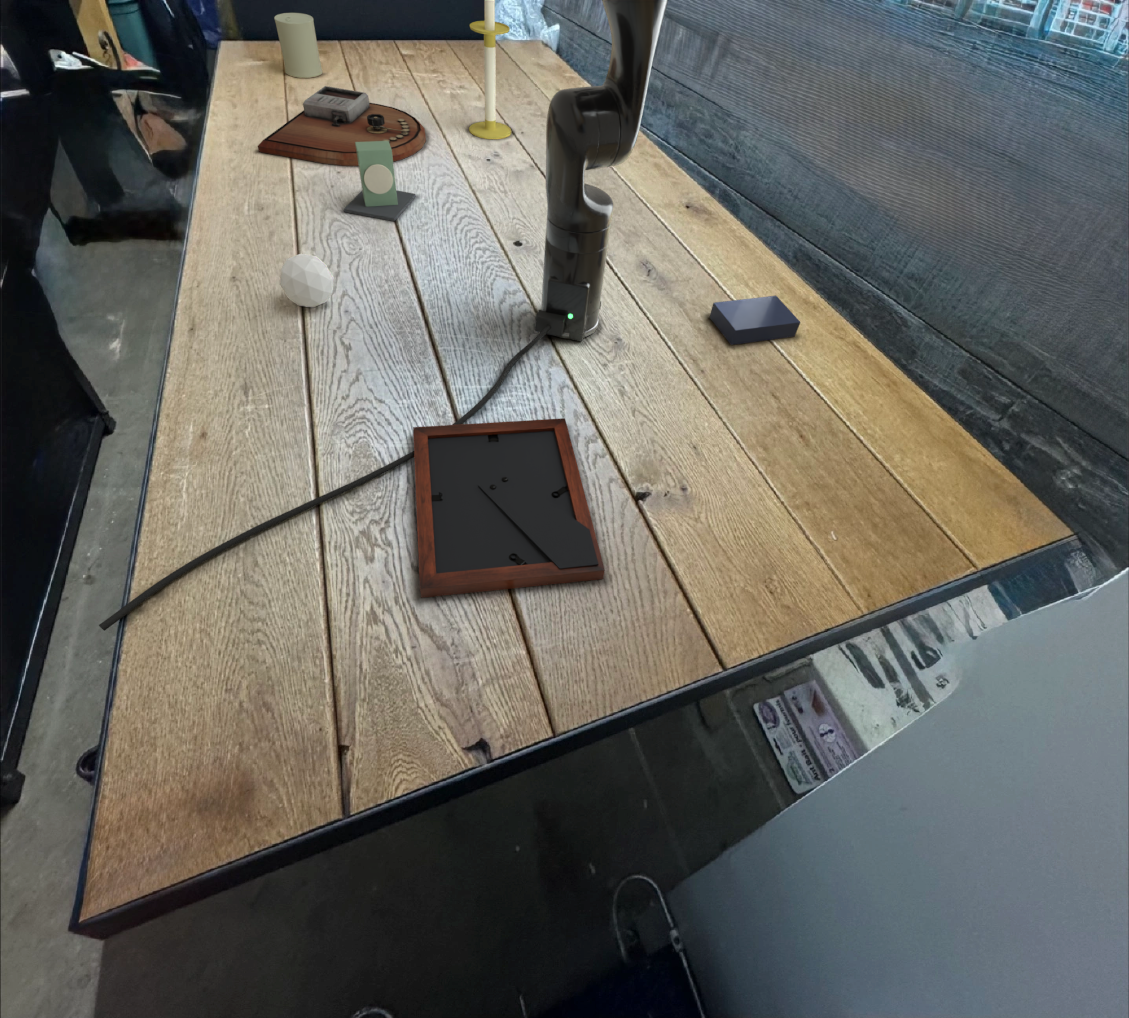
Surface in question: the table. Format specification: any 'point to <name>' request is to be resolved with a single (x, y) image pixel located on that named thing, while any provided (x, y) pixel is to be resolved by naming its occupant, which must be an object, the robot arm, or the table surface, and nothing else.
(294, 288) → the geometric ball
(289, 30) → the can
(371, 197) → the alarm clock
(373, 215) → the felt pad
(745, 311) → the rectangular block
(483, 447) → the picture frame
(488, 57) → the cream and yellow pole
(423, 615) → the table surface
